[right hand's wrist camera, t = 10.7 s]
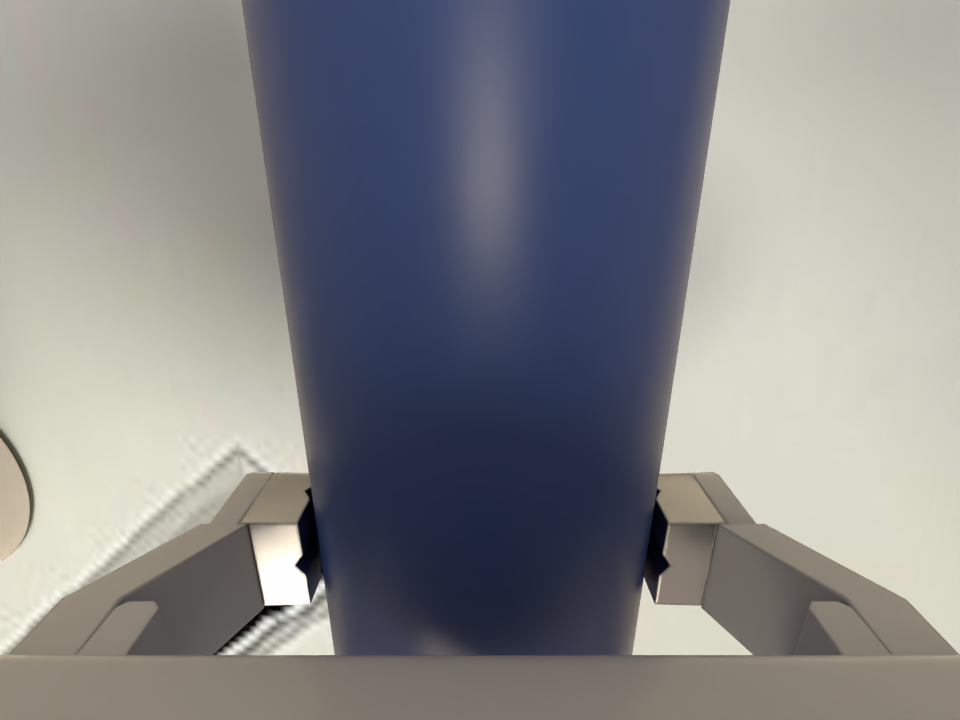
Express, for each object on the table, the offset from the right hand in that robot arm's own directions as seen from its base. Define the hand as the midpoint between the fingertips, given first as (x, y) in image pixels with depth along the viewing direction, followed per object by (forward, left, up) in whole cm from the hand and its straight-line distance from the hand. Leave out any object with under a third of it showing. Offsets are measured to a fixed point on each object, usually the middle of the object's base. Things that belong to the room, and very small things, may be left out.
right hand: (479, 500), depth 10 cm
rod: (-2, +8, -3) cm, 9 cm away
